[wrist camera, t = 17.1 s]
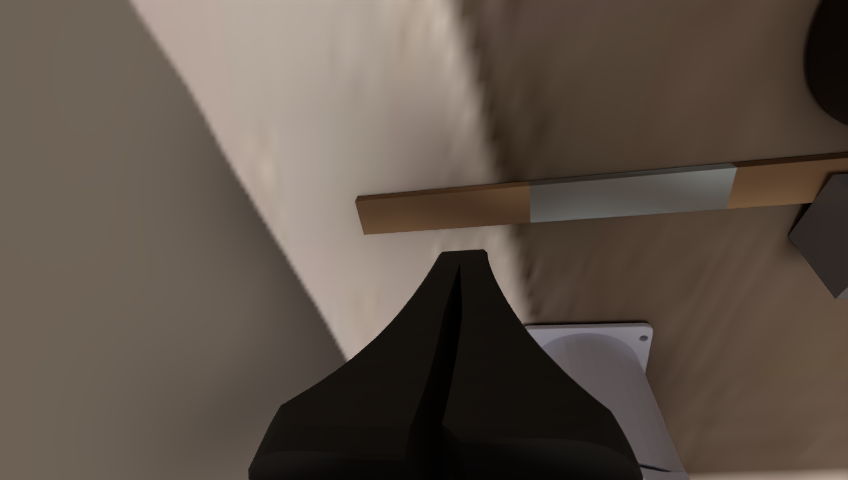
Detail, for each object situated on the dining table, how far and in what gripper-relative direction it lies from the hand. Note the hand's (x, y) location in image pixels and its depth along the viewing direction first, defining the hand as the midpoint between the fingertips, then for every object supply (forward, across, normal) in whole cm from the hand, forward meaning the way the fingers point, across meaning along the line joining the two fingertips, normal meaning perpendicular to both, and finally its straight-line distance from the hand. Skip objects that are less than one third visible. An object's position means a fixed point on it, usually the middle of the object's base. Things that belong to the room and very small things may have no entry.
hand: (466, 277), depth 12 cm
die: (+10, -18, +4) cm, 21 cm away
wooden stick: (+10, -8, +3) cm, 13 cm away
